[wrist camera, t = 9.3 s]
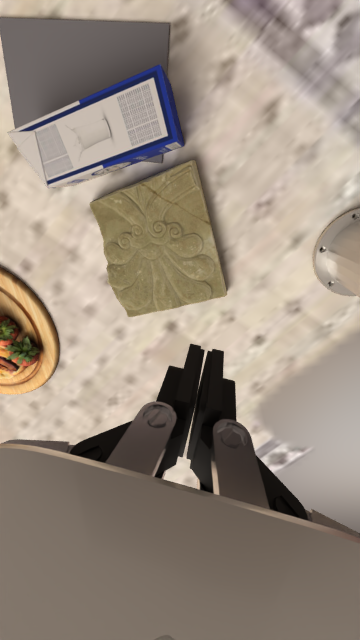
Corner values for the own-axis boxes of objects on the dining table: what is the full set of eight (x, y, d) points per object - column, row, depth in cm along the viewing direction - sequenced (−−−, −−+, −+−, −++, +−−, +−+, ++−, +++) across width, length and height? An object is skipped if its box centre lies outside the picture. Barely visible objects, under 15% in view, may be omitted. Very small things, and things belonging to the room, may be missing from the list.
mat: (169, 25, 30) (169, 23, 30) (162, 163, 36) (161, 162, 36) (0, 19, 32) (-3, 17, 32) (20, 150, 38) (18, 149, 38)
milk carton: (160, 62, 26) (4, 132, 30) (178, 140, 29) (34, 192, 33) (170, 83, 32) (39, 139, 36) (184, 146, 35) (62, 189, 40)
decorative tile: (196, 160, 36) (194, 155, 32) (228, 291, 43) (228, 298, 40) (84, 202, 40) (72, 202, 37) (129, 314, 48) (123, 322, 44)
